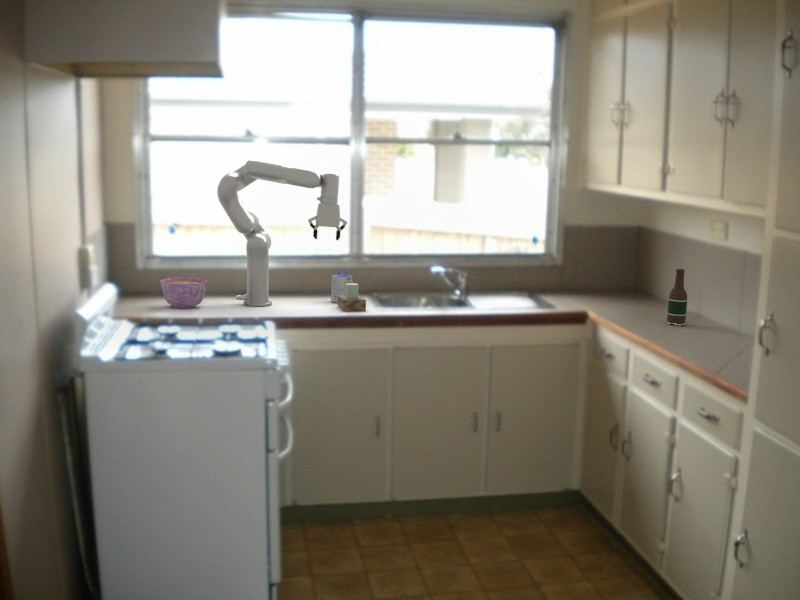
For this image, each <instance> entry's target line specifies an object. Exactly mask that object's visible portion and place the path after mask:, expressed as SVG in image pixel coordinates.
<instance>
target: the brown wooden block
mask: <svg viewBox="0 0 800 600" xmlns="http://www.w3.org/2000/svg"><path fill="white" fill-rule="evenodd" d="M337 308H339V309H340V310H341V311H342V312H366V311H367V300H366V299H365V298H364V297H363V296H362V295H360V294H359V295H358V298H355V299H347V298H346V297H345V295H338V302H337Z"/></svg>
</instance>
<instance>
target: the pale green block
mask: <svg viewBox="0 0 800 600" xmlns="http://www.w3.org/2000/svg"><path fill="white" fill-rule="evenodd" d="M359 289H360V287H359V284H358V283H355V282H354V283H345V297H346V298H347V299H355V298H358V295H360V294H359V293H360V291H359Z"/></svg>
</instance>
